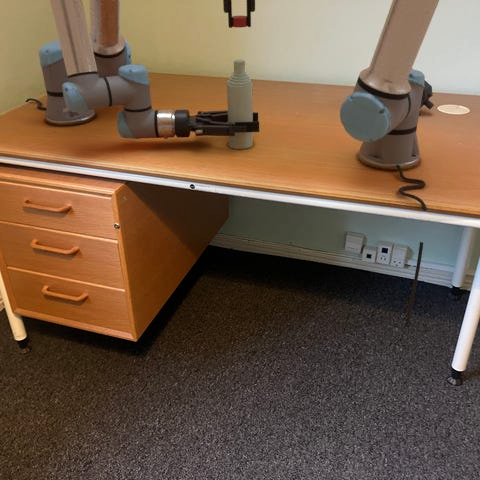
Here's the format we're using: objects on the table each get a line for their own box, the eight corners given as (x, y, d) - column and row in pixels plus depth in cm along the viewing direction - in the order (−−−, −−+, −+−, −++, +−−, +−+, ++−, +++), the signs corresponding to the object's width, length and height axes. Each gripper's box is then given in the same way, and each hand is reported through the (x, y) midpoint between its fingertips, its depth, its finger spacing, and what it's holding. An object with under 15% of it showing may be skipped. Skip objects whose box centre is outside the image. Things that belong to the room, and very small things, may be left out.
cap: (228, 25, 133) (228, 16, 132) (242, 23, 135) (242, 14, 134) (236, 28, 130) (236, 18, 129) (250, 26, 132) (250, 17, 131)
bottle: (257, 143, 150) (257, 59, 138) (243, 150, 146) (242, 65, 133) (237, 138, 154) (236, 56, 141) (223, 145, 149) (220, 61, 137)
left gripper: (179, 124, 157) (257, 122, 157) (172, 150, 140) (260, 148, 140) (177, 99, 153) (257, 97, 153) (170, 122, 136) (260, 121, 136)
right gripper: (272, -85, 124) (271, 22, 136) (199, -83, 123) (205, 25, 136) (276, -85, 118) (275, 27, 130) (199, -82, 117) (206, 30, 129)
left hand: (258, 122), depth 146 cm, fingers closed on bottle, 7 cm apart
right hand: (239, 26), depth 133 cm, fingers closed on cap, 4 cm apart
